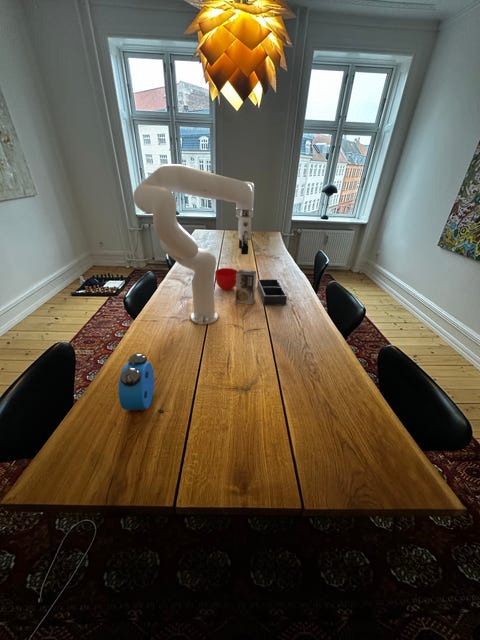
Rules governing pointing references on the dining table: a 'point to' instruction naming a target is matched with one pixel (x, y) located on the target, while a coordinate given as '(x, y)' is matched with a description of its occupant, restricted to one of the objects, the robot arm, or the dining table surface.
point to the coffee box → (245, 286)
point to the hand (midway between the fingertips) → (243, 251)
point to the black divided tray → (271, 292)
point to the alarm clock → (136, 383)
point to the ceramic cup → (226, 278)
